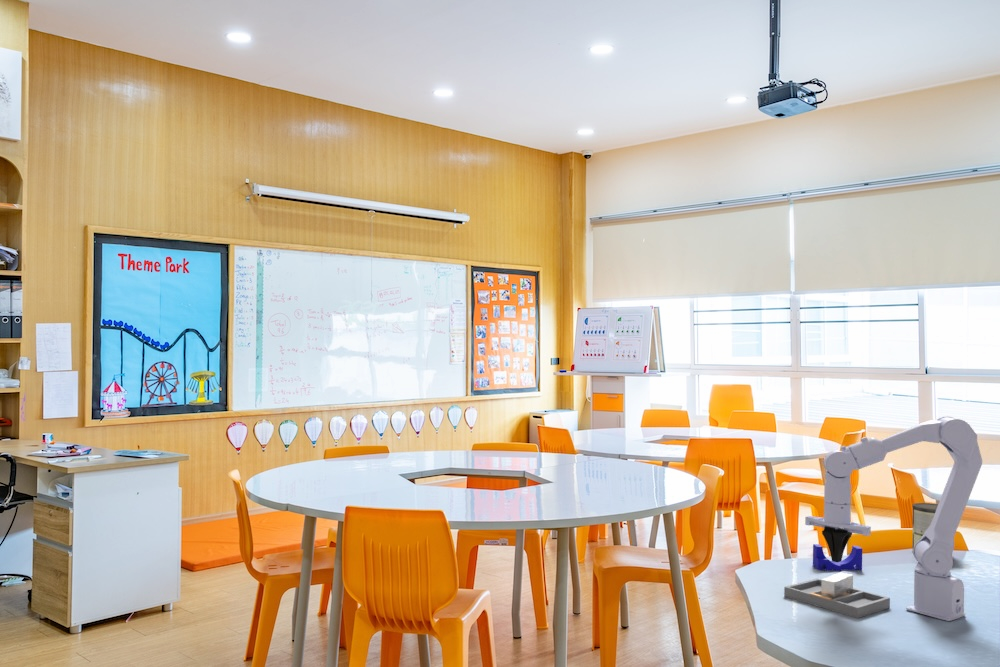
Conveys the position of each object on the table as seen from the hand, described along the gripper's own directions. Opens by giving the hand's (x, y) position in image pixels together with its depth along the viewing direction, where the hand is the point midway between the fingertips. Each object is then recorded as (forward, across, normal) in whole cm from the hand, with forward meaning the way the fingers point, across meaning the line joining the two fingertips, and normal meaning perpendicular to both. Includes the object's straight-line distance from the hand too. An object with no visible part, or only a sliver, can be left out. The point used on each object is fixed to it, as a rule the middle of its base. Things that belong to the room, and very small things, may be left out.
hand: (836, 561), depth 184 cm
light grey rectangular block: (+8, 0, 0) cm, 8 cm away
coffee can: (+10, +3, -70) cm, 71 cm away
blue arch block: (+10, +13, -30) cm, 34 cm away
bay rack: (+9, 0, 0) cm, 9 cm away
